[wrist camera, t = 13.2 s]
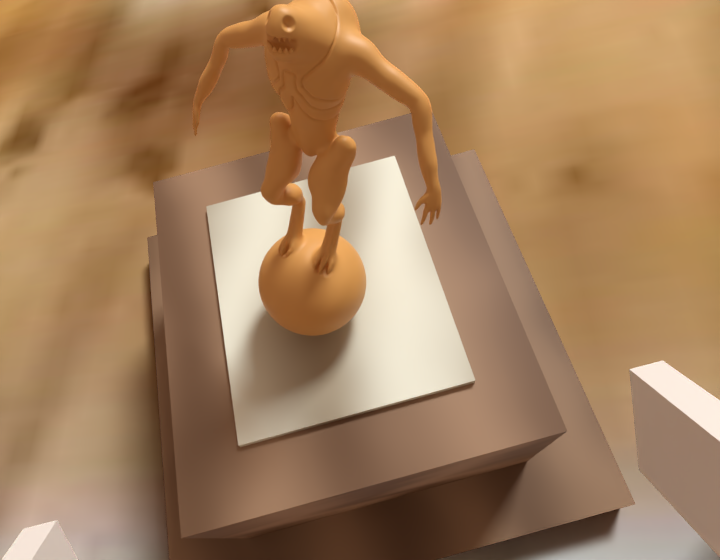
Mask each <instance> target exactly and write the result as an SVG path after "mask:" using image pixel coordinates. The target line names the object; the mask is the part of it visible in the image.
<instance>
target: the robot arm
mask: <svg viewBox="0 0 720 560" xmlns="http://www.w3.org/2000/svg"><path fill="white" fill-rule="evenodd" d="M629 370H630V381H631V392H632V402H633V413H634V424H635V435H636V445H637V456H638V467H639V470H640V472H641V473H642V474H643V475H644V476H645V477H646V478H647V479H648V480H649V481H650V482H651V483H652V485H653V486H654V487H655V488H656V489H657V490H658V491H659V492H660V493H661V494H662V495H663V496H664V498H665V499H666V500H667V501H668V502H669V503H670V504H671V505H672V506H673V507H674V508H675V510H676V511H677V512H678V513H679V514H680V515H681V516H682V517H683V518H684V519H685V520H686V521H687V523H688V524H689V525H690V526H691V527H692V528H693V529H694V530H695V531H696V532H697V533H698V534H699V536H700V537H701V538H702V539H703V540H704V541H705V542H706V543H707V544H708V545H709V546H710V547H711V549H712V550H713V551H714V552H715V553H716V554H717V555H718V556H719V557H720V400H718V399H717V398H715V397H714V396H713V395H711V394H710V393H708V392H707V391H705V390H704V389H703V388H701V387H700V386H698V385H697V384H695V383H694V382H693V381H691V380H690V379H688V378H687V377H685V376H684V375H682V374H681V373H680V372H678V371H677V370H675V369H674V368H672V367H671V366H670V365H668V364H667V363H665V362H664V361H659V362H655V363H652V364H648V365H644V366H640V367H636V368H633V369H629ZM2 560H78V558H77V557H76V555H75V553H74V551H73V549H72V547H71V545H70V543H69V542H68V540H67V538H66V536H65V534H64V532H63V530H62V528H61V527H60V525H59V523H58V521H57V520H55V521H51V522H48V523H44V524H40V525H36V526H32V527H29V528H25V529H23V530H22V532H21V533H20V534H19V536H18V537H17V539H16V540H15V541H14V543H13V544H12V546H11V547H10V549H9V550H8V551H7V553H6V554H5V556H4V557H3V558H2Z"/></svg>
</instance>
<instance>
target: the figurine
mask: <svg viewBox="0 0 720 560" xmlns="http://www.w3.org/2000/svg"><path fill="white" fill-rule="evenodd" d="M258 46H264V50H265V61H266V66H267V72H268V76H269V79H270V81H271V84H272V87H273V88H274V90H275V91H276V93H277V94H279V95H280V99H281V101H282V103H283V105H284V106H285V108H287V110H288V114H289V115H287V114H285V113H281V112H276V113H274V114H273V115H272V116H271V118H270V140H271V148H270V152H269V157H268V162H267V166H266V172H265V179H264V181H263V183H262V186H261V194H262V196H263V198H264V199H265V200H266V201H267V202H269V203H270V204H272V205H285V206H292V211H291V216H290V221H289V227H288V231H287V234H286V235H285V236H283V237H282V238H281V239H279V240H278V241H277V242H276V243H275V244H274V245H273V246H272V247H271V248H270V249H269V251H268V252H267V254H266V255H265V257H264V259H263V261H262V264H261V267H260V271H259V278H258V286H259V293H260V297H261V300H262V303H263V305H264V307H265V309H266V310H267V312H268V313H269V315H270V316H271V317H272V318H273V319H274V320H275V321H276V322H277V323H278V324H279V325H281V326H282V327H284V328H285V329H287V330H289V331H292V332H294V333H297V334H301V335H308V336H317V335H324V334H328V333H331V332H333V331H335V330H337V329H339V328H341V327H343V326H344V325H345V324H347V323H348V322H349V321H350V320H351V319H352V318H353V317H354V316H355V314H356V313H357V311H358V310H359V308H360V306H361V304H362V302H363V299H364V296H365V291H366V272H365V268H364V265H363V262H362V260H361V258H360V256H359V254H358V252H357V251H356V250H355V248H354V247H353V246H352V245H351V244H350V243H349V242H348V241H347V240H346V239H344V238H343V237H341V236H340V231H341V225H342V220H343V218H344V216H345V208H344V205H343V204H342V203H341V202H342V200H343V197H344V195H345V191H346V187H347V182H348V174H349V170H350V167H351V165H352V163H353V161H354V159H355V156H356V143H355V141H354V140H353V139H352V138H351V137H349V136H344V135H341V136H339V135H338V134H337V132H336V125H337V121H338V116H339V111H340V109H341V107H342V105H343V103H344V100H345V95H346V92H347V90H348V87H349V84H350V81H351V77H352V76H360V77H363V78H364V79H366V80H367V81H369V82H370V83H372V84H373V85H374V86H376V87H377V88H379V89H380V90H382V91H383V92H385V93H386V94H387V95H389V96H390V97H392V98H393V99H395V100H397V101H398V102H400V103H402V104H403V105H405V106H407V107H408V108H409V109H410V111H411V116H412V124H413V129H414V133H415V137H416V143H417V155H418V161H419V166H420V169H421V172H422V175H423V178H424V181H425V184H426V187H427V189H426V192H425V194H424V195H423V196H422V197H421V198H420V199H419V200H418V202H417V203H416V205H415V208H414V210H417V209H418V208H419V207H420V205H421V204H425V207H424V211H423V216H422V220H421V223H420V224H421V225H422V224H423V223H424V221H425V219H426V217H427V214H428V213H429V212H430V220H429V225H431V224H432V222H433V220H434V217H435V212H436V210H437V212H436V219H438V218H439V215H440V210H441V202H442V199H441V187H440V184H439V179H438V163H437V156H436V150H435V143H434V138H433V130H432V108H431V104H430V101H429V98H428V97H427V95H426V94H425V93H424V92H423V90H422V89H421V88H420V87H419V86H418V85H417V84H415V83H414V82H413V81H412V80H411V79H410V78H409V77H407V76H406V75H405V74H404V73H403V72H402V71H400V70H399V69H398V68H396V67H395V66H394V65H392V64H391V63H390V62H388V61H387V60H386V59H385V58H384V57H383V56H382V54H381V53H380V52H379V50H378V49H377V48H376V46H375V45H374V44H373V43H372V42H371V41H370V40H368V39H367V38H366V37H364V36H363V35H362V34H361V30H360V25H359V21H358V18H357V15H356V12H355V10H354V8H353V7H352V5H351V4H350V3H349V1H348V0H293V1H292V2H291V3H289V4H288V5H286V4H279V5H276V6H274V7H272V8H271V9H270V11H267V12H265V13H263V14H261V15H260V16H258V17H257V18H255V19H253V20H250V21H245V22H241V23H237V24H234V25H232V26H229V27H227V28H225V29H223V30H222V31H221V32H220V33H219V34H218V36H217V37H216V40H215V43H214V46H213V50H212V55H211V58H210V60H209V62H208V64H207V66H206V68H205V70H204V72H203V73H202V75H201V77H200V79H199V82H198V86H197V90H196V93H195V96H194V100H193V129H194V135H195V136H196V135H197V127H198V125H199V121H200V111H201V106H202V104H203V102H204V101H205V100H206V98H207V97H208V96H209V95H210V94H211V92H212V91H213V89H214V87H215V85H216V83H217V82H218V79H219V77H220V74H221V71H222V69H223V67H224V65H225V64H226V62H227V59H228V54H229V49H230V48H249V47H258ZM303 152H304V153H305V154H306V155H307V156H310V157H312V156H315V155H317V157H316V159H315V161H314V163H313V164H312V166H311V168H310V171H309V174H308V187H309V190H310V193H311V196H312V212H313V215H314V217H315V219H316V221H317V222H318V223H319V224H320V225H322V226H326V225H327V228H326V230H324V229H318V228H306V229H303V224H304V215H305V205H306V201H305V198H304V196H303V192H302V190H301V188H300V187H299V186H298V185H296V184H294V183H291V182H292V181H293V180H295V179H296V178H297V176H298V175H299V173H300V171H301V166H302V153H303Z"/></svg>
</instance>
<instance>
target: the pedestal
mask: <svg viewBox="0 0 720 560" xmlns="http://www.w3.org/2000/svg"><path fill="white" fill-rule="evenodd" d="M432 130H433V138H434V143H435V150H436V156H437V163H438V179H439V184H440V187H441V199H442V202H441V210H440V215H439V218H438V219H436V212H437V210H436V212H435V217H434V220H433V222H432V224H431V225H429V220H430V212H429V213H428V214H427V217H426V219H425V221H424V223H423V224H422V225H421V224H420V223H421V220H422V216H423V211H424V207H425V204H421V205H420V207H419V208H418V209H417V210H414V208H415V205H416V203H417V202H418V200H419V199H420V198H421V197H422V196H423V195H424V194H425V192H426V189H427V187H426V184H425V181H424V178H423V175H422V172H421V169H420V166H419V161H418V155H417V143H416V137H415V133H414V129H413V124H412V116H411V113H410V114H406V115H403V116H399V117H395V118H391V119H388V120H384V121H380V122H376V123H373V124H369V125H365V126H362V127H358V128H354V129H350V130H347V131H343V132H339V133H337V134H338V135H339V136H341V135H344V136H349V137H351V138H352V139H353V140H354V141H355V143H356V156H355V159H354V161H353V163H352V165H351V167H350V170H349V174H348V182H347V187H346V191H345V195H344V197H343V200H342V202H341V203H342V204H343V205H344V208H345V216H344V218H343V220H342V225H341V231H340V236H341V237H343V238H344V239H346V240H347V241H348V242H349V243H350V244H351V245H352V246H353V247H354V248H355V250H356V251H357V252H358V254H359V256H360V258H361V260H362V262H363V265H364V268H365V272H366V291H365V296H364V299H363V302H362V304H361V306H360V308H359V310H358V311H357V313H356V314H355V316H354V317H353V318H352V319H351V320H350V321H349V322H348V323H347V324H345V325H344V326H343V327H341V328H339V329H337V330H335V331H333V332H331V333H328V334H324V335H317V336H308V335H301V334H297V333H294V332H292V331H289V330H287V329H285V328H284V327H282V326H281V325H279V324H278V323H277V322H276V321H275V320H274V319H273V318H272V317H271V316H270V315H269V313H268V312H267V310H266V309H265V307H264V305H263V303H262V300H261V297H260V293H259V286H258V278H259V271H260V267H261V264H262V261H263V259H264V257H265V255H266V254H267V252H268V251H269V249H270V248H271V247H272V246H273V245H274V244H275V243H276V242H277V241H278V240H279V239H281V238H282V237H283V236H285V235H286V234H287V231H288V227H289V221H290V216H291V211H292V206H285V205H272V204H270V203H269V202H267V201H266V200H265V199H264V198H263V196H262V194H261V186H262V183H263V181H264V179H265V172H266V166H267V162H268V157H269V152H270V151H268V152H265V153H261V154H257V155H254V156H250V157H246V158H242V159H239V160H235V161H231V162H228V163H224V164H220V165H216V166H213V167H209V168H205V169H201V170H198V171H194V172H190V173H187V174H183V175H179V176H175V177H172V178H168V179H164V180H161V181H157V182H153V185H154V198H155V211H156V224H157V235H155V236H152V237H148V238H147V239H148V254H149V268H150V283H151V298H152V313H153V328H154V342H155V357H156V372H157V387H158V402H159V416H160V431H161V446H162V461H163V476H164V490H165V505H166V520H167V535H168V550H169V560H437V559H441V558H444V557H448V556H451V555H455V554H459V553H462V552H466V551H469V550H473V549H476V548H480V547H484V546H487V545H491V544H494V543H498V542H501V541H505V540H509V539H512V538H516V537H519V536H523V535H526V534H530V533H534V532H537V531H541V530H544V529H548V528H552V527H555V526H559V525H562V524H566V523H569V522H573V521H577V520H580V519H584V518H587V517H591V516H594V515H598V514H602V513H605V512H609V511H612V510H616V509H619V508H623V507H627V506H630V505H634V504H635V502H634V500H633V498H632V496H631V493H630V491H629V489H628V487H627V485H626V482H625V480H624V478H623V476H622V474H621V471H620V469H619V467H618V465H617V463H616V460H615V458H614V456H613V454H612V452H611V449H610V447H609V445H608V443H607V441H606V438H605V436H604V434H603V432H602V430H601V427H600V425H599V423H598V421H597V419H596V416H595V414H594V412H593V410H592V408H591V405H590V403H589V401H588V399H587V397H586V394H585V392H584V390H583V388H582V386H581V383H580V381H579V379H578V377H577V375H576V372H575V370H574V368H573V366H572V364H571V361H570V359H569V357H568V355H567V353H566V350H565V348H564V346H563V344H562V341H561V339H560V337H559V335H558V333H557V330H556V328H555V326H554V324H553V322H552V319H551V317H550V315H549V313H548V311H547V308H546V306H545V304H544V302H543V300H542V297H541V295H540V293H539V291H538V289H537V286H536V284H535V282H534V280H533V278H532V275H531V273H530V271H529V269H528V267H527V264H526V262H525V260H524V258H523V256H522V253H521V251H520V249H519V247H518V245H517V242H516V240H515V238H514V236H513V234H512V231H511V229H510V227H509V225H508V223H507V220H506V218H505V216H504V214H503V212H502V209H501V207H500V205H499V203H498V201H497V198H496V196H495V194H494V192H493V190H492V187H491V185H490V183H489V181H488V179H487V176H486V174H485V172H484V170H483V168H482V165H481V163H480V161H479V159H478V157H477V154H476V152H475V150H470V151H467V152H463V153H459V154H455V155H452V156H451V155H450V153H449V151H448V148H447V146H446V144H445V141H444V139H443V136H442V134H441V132H440V129H439V127H438V125H437V122H436V120H435V118H434V115H433V113H432ZM316 157H317V155H315V156H312V157H310V156H307V155H306V154H305V153H304V152H303V153H302V166H301V171H300V173H299V175H298V176H297V178H296V179H295V180H293V181H292V182H291V183H294V184H296V185H298V186H299V187H300V188H301V190H302V192H303V196H304V198H305V201H306V205H305V215H304V224H303V229H306V228H318V229H324V230H326V228H327V225H326V226H322V225H320V224H319V223H318V222H317V221H316V219H315V217H314V215H313V212H312V196H311V193H310V190H309V187H308V174H309V171H310V168H311V166H312V164H313V163H314V161H315V159H316Z"/></svg>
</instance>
